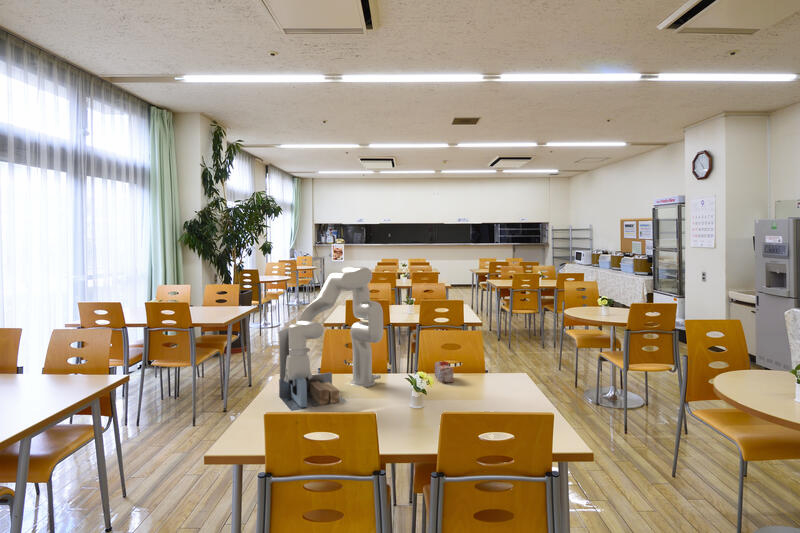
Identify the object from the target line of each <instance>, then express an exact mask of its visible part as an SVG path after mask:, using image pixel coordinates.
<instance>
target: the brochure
mask: <svg viewBox="0 0 800 533" xmlns="http://www.w3.org/2000/svg"><path fill="white" fill-rule="evenodd" d="M278 342H279V343H278V344H279V346H278V348H279V351H278V352H279V379H284V378H285V375H286V360H287V356H288V355H289V327H287V328H284V329H281V330H279V331H278Z"/></svg>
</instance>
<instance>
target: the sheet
mask: <svg viewBox="0 0 800 533" xmlns="http://www.w3.org/2000/svg"><path fill="white" fill-rule="evenodd" d="M296 386H297V395H295V394H294V393H293V392H292V385H291V397H292V398H293V399H294V400H295V401H296V403H297V404H298V405H299V406H300V407H307V385H306V380H305V379H303V378H297V379H296Z"/></svg>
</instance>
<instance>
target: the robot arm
mask: <svg viewBox="0 0 800 533" xmlns="http://www.w3.org/2000/svg"><path fill="white" fill-rule="evenodd" d="M372 279H373V272H372V270H371V269H370V268H369V267H365V266H345V267H343V269H341V271H340V272H339V271H337V272H335V271H334V272H331V273H330V274H329V275H328V276H327V279H326V280H325V282H324V284H323V285H322V288H321V289H320V292H319V294H318V295H317V297H316V299H314V300H313V301H312V302H311V303H309V304H308V305H307V306H306V307H305V308H304V309H303V310H302V311H301V313H300V314H299V317H298V319H297V320H296V323H291V324H290V325H289V326H288V328H289V355H288V356H287V360H286V375H285V378H284V381H285V382H289V383H290V384H291V385H292V392H293V393H294V394H295V395H297V386H296V379H297V378H303V379H305V380H306V382H307V381H308V380H309V379H310V378H312V377H313V376H312V375H313V374H312V372H311V363H310V357H309V355H308V352H310V351H311V350H310V348H308V347H307V340H317V339H320V338H321V337H322V336H323V335H324V333H325V327H324V325H322V324H321V323H320V322H319V321H314V319H315V318H316V317H317V316H318V315H319V314H321V313H324V312H326V311H328V310H330V309H332V308H334V306H335V304H336V302H337V300H338V298H339V296H340V294H341V292H342V291H346V292H352V293H351V294H352V313H353V316H354V318H356V319H358V320H362V321H356V322H354V323H353V324H352V325H351V327H350V330H349V331H350V332H349V333H350V338H351V344H352V345H351V346H352V380H350V382H349V384H350V385H351V386H356V387H364V388H370V387H372V386H374V385H375V383H376V381H375V380H379V379H381V374H373V372H372V370H373V368H372V366H373V365H372V364H373V359H372V358H373V356H372V354H373V352H372V344H376V343H379V342H381V341H382V339H383V336H384V311H383V306H382V305H381V303H380V302H378V301H374V300H371V298H370V296H371V294H370V288H369V284H370V283H371V281H372ZM363 320H364V321H363ZM371 343H372V344H371ZM290 379H291V380H290Z"/></svg>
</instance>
